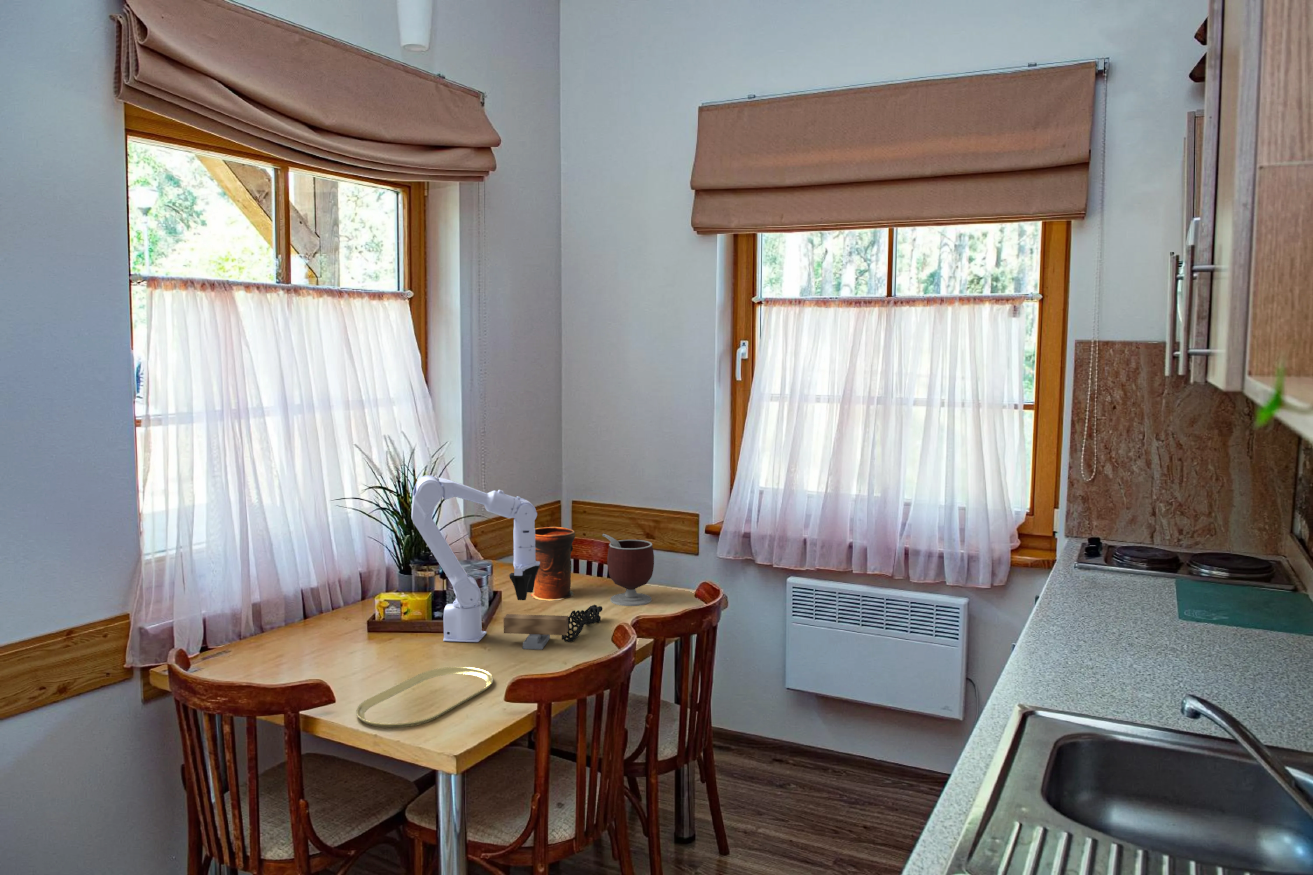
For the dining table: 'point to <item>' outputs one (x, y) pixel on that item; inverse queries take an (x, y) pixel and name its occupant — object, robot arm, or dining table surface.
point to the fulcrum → (535, 641)
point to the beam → (536, 624)
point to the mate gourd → (630, 569)
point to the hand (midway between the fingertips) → (525, 595)
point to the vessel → (553, 563)
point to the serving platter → (415, 680)
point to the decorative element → (582, 621)
